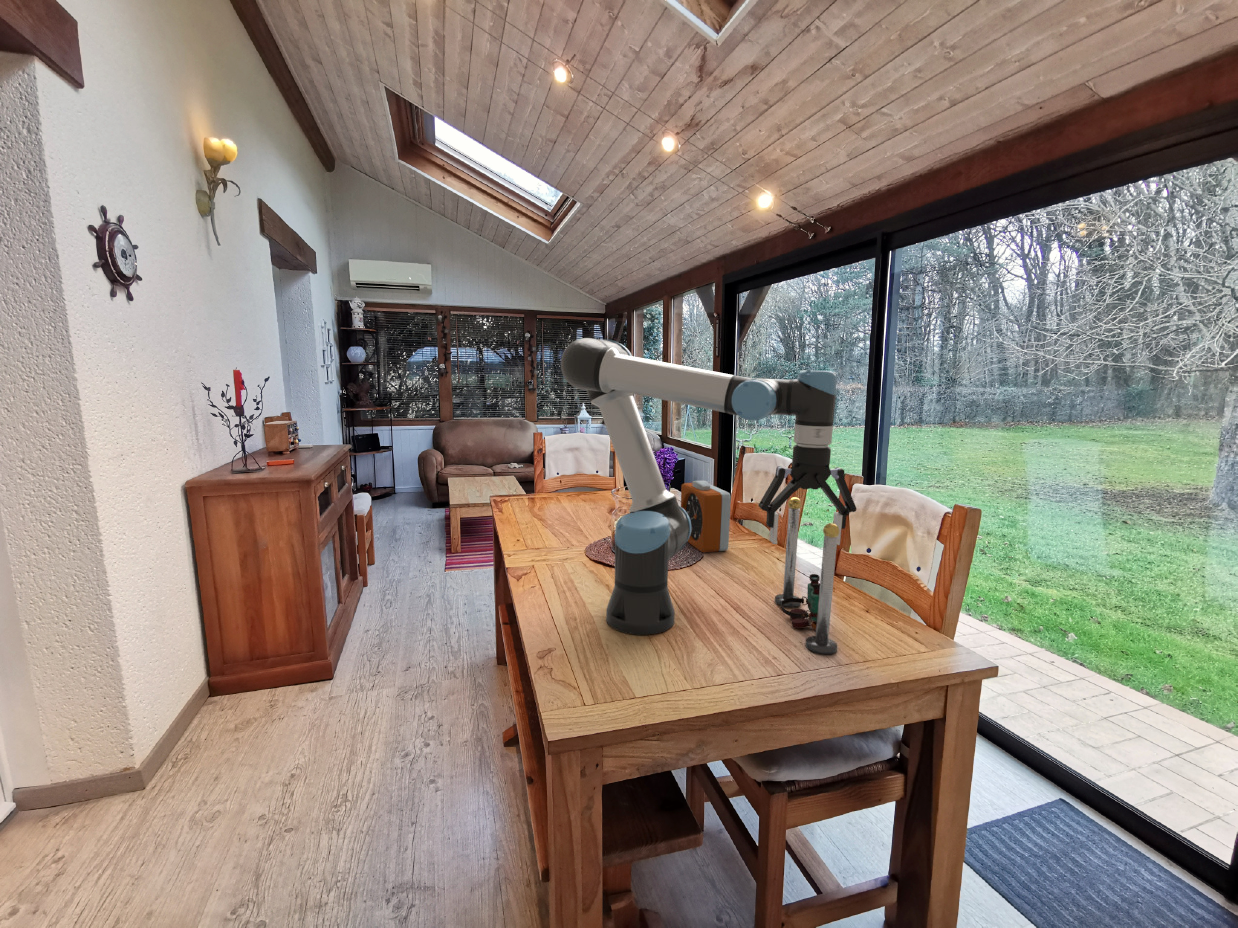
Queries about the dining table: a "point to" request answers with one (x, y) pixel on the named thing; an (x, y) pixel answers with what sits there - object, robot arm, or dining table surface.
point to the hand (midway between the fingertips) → (804, 542)
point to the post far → (790, 555)
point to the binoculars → (811, 600)
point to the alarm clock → (707, 515)
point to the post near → (825, 595)
